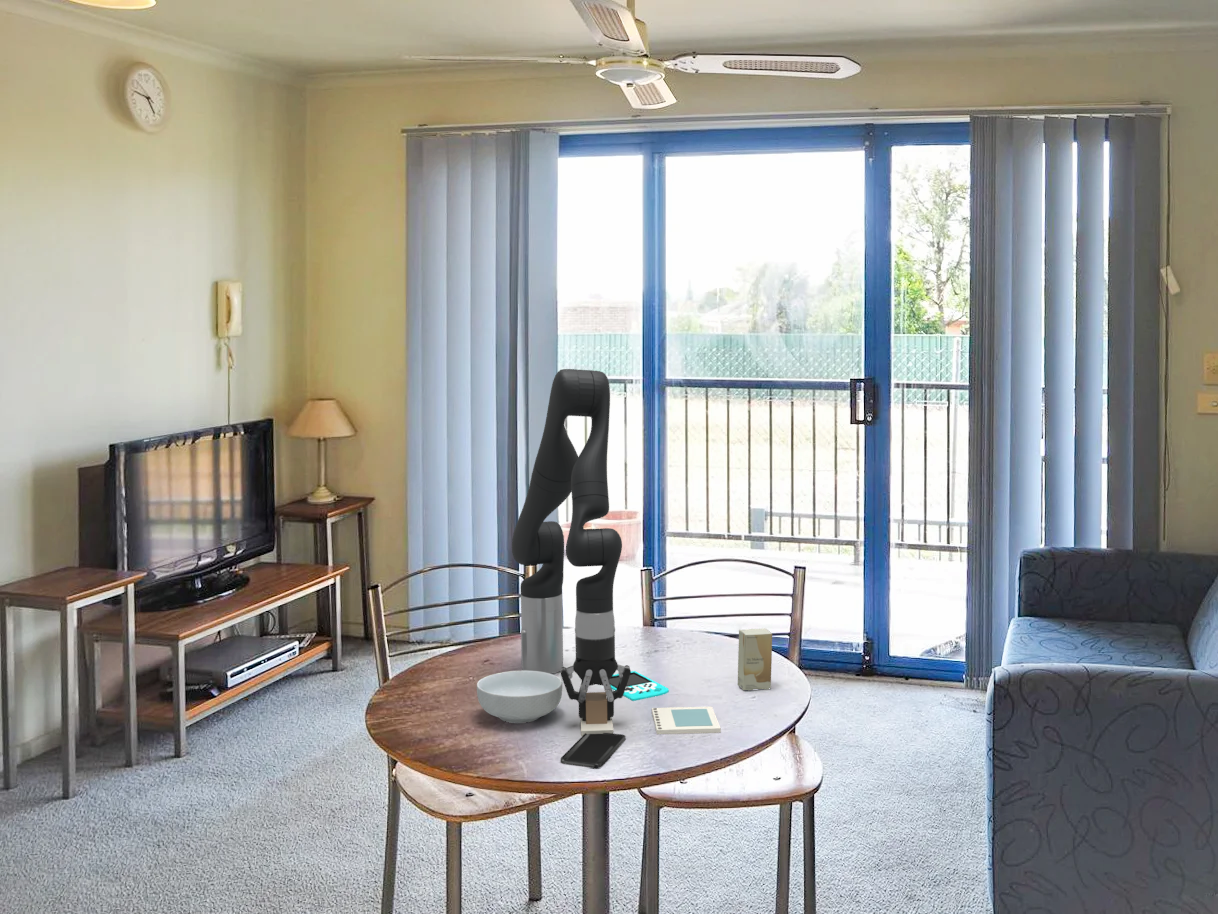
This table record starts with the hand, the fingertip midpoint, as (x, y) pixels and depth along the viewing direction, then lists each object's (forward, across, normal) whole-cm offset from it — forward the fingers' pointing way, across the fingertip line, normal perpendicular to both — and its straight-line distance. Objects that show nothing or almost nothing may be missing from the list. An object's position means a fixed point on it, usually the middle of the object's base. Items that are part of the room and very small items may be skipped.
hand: (596, 718), depth 214 cm
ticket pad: (+1, -17, 0) cm, 17 cm away
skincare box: (+2, -34, -20) cm, 40 cm away
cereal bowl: (+2, +15, -6) cm, 16 cm away
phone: (+2, +1, +13) cm, 13 cm away
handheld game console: (+2, -9, -22) cm, 24 cm away
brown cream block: (+1, 0, 0) cm, 1 cm away
